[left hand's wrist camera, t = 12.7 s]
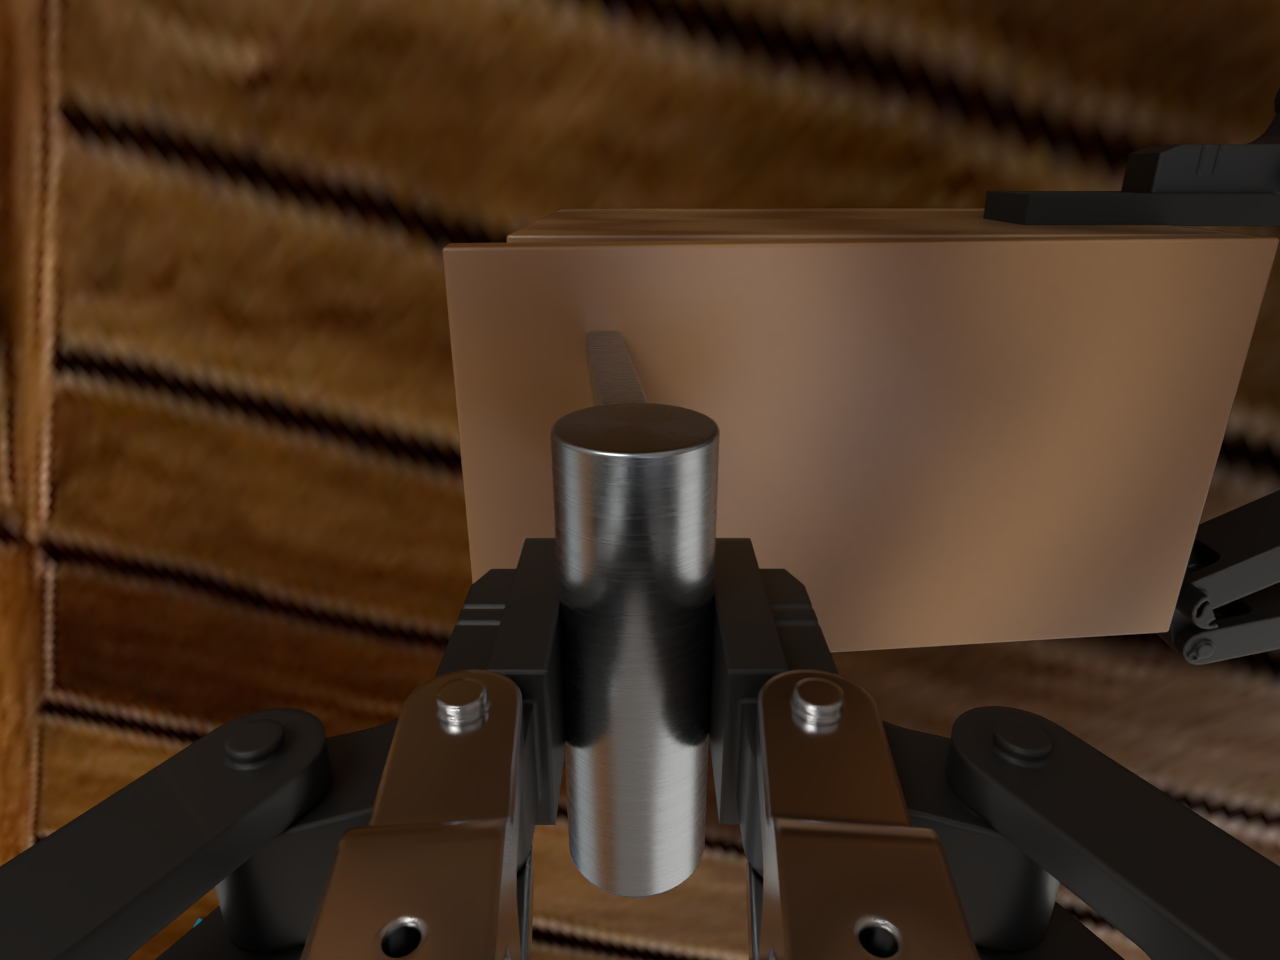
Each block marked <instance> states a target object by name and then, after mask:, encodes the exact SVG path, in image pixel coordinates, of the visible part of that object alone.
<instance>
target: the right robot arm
mask: <svg viewBox="0 0 1280 960" xmlns="http://www.w3.org/2000/svg"><path fill="white" fill-rule="evenodd" d="M1275 111H1276V113H1277V115H1276V117H1275V118H1274V120H1273V122H1272V123H1271V125H1270V126H1269V128H1268V129H1267V130H1266V132H1265V133H1264V134H1262V135H1261V136H1260V137H1259V138H1258V139H1256V140H1254V141H1253V142H1251V143H1248V144H1205V145H1204V144H1182V145H1159V146H1148V147H1145V148H1143V149H1140V150H1138V151H1135V152H1133V153H1130V154H1129V157H1128V161H1127V166H1126V171H1125V176H1124V181H1123V185H1122V190H1121V191H987V196H986V202H985V209H984V216H983V219H989V220H995V221H1002V222H1008V223H1014V224H1021V225H1170V226H1280V89H1279V90H1278V92H1277V95H1276V98H1275ZM1156 634H1158V635H1159V636H1160V637H1161V638H1162V639H1163V640H1164V641H1165V642H1166V643H1167V644H1168V645H1170V646H1171V647H1172V648H1173V649H1174V650H1175V651H1176V652H1177V653H1179V654H1180V655H1181V656H1182V657H1183V658H1184V659H1185V660H1186V661H1187V662H1189V663H1191V664H1194V665H1202V664H1208V663H1212V662H1217V661H1222V660H1227V659H1232V658H1237V657H1242V656H1247V655H1252V654H1256V653H1261V652H1266V651H1271V650H1276V649H1280V490H1279V491H1276V492H1274V493H1272V494H1269V495H1267V496H1265V497H1262V498H1260V499H1258V500H1255V501H1253V502H1251V503H1248V504H1246V505H1244V506H1241V507H1239V508H1237V509H1235V510H1232V511H1230V512H1228V513H1225V514H1223V515H1221V516H1218V517H1216V518H1214V519H1211V520H1209V521H1207V522H1204V523H1202V524H1200V525H1199V526H1198V529H1197V533H1196V536H1195V540H1194V543H1193V547H1192V550H1191V554H1190V557H1189V561H1188V564H1187V568H1186V571H1185V575H1184V578H1183V582H1182V585H1181V589H1180V592H1179V596H1178V599H1177V603H1176V607H1175V610H1174V614H1173V617H1172V621H1171V624H1170V628H1169V631H1168V632H1161V633H1156Z"/></svg>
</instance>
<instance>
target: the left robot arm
mask: <svg viewBox="0 0 1280 960" xmlns="http://www.w3.org/2000/svg"><path fill="white" fill-rule="evenodd" d="M463 606H464V607H463V609H462V610H461V613H460V615H459V618H458V620H457V625H455V628H454V630H453V633H452V635H451V638H450V640H449V643H448V645H447V648H446V651H445V653H444V656H443V658H442V661H441V663H440V666H439V668H438V671H437V673H436V676H435V678H433V679H430V680H429V681H427V682H425V683H423V684H422V685H420V686H419V687H418V688H416V689H415V690H414V691H413V692H412V693H411V694H410V695H409V696H408V698H407V699H406V700H405V702H404V704H403V707H402V709H401V713H400V716H399V718H397V719H394V720H392V721H390V722H388V723H385V724H383V725H380V726H377V727H373V728H370V729H366V730H362V731H357V732H352V733H348V734H343V735H339V736H334V737H329V738H326V735H325V729H324V726H323V724H322V722H321V721H320V720H319V719H318V718H317V717H316V716H314V715H312V714H311V713H309V712H306V711H303V710H298V709H292V708H276V709H267V710H261V711H257V712H253V713H249V714H246V715H244V716H241V717H238V718H236V719H233V720H231V721H229V722H227V723H225V724H223V725H221V726H220V727H218V728H216V729H215V730H213V731H212V732H210V733H208V734H207V735H205V736H204V737H202V738H201V739H199V740H197V741H196V742H194V743H193V744H191V745H190V746H188V747H186V748H185V749H183V750H182V751H180V752H179V753H177V754H176V755H174V756H172V757H171V758H169V759H168V760H166V761H165V762H163V763H161V764H160V765H158V766H157V767H155V768H154V769H152V770H151V771H149V772H147V773H146V774H144V775H143V776H141V777H140V778H138V779H136V780H135V781H133V782H132V783H130V784H129V785H127V786H126V787H124V788H122V789H121V790H119V791H118V792H116V793H115V794H113V795H111V796H110V797H108V798H107V799H105V800H104V801H102V802H101V803H99V804H97V805H96V806H94V807H93V808H91V809H90V810H88V811H86V812H85V813H83V814H82V815H80V816H79V817H77V818H76V819H74V820H72V821H71V822H69V823H68V824H66V825H65V826H63V827H61V828H60V829H58V830H57V831H55V832H54V833H52V834H51V835H49V836H47V837H46V838H44V839H43V840H41V841H40V842H38V843H36V844H35V845H33V846H32V847H30V848H29V849H27V850H26V851H24V852H22V853H21V854H19V855H18V856H16V857H15V858H13V859H11V860H10V861H8V862H7V863H5V864H4V865H2V866H1V867H0V960H127V959H128V958H129V957H130V956H131V955H132V954H133V953H134V952H136V951H137V950H138V949H139V948H140V947H141V946H143V945H144V944H145V943H146V942H148V941H149V940H150V939H151V938H152V937H154V936H155V935H156V934H157V933H159V932H160V931H161V930H162V929H164V928H165V927H166V926H167V925H168V924H170V923H171V922H172V921H173V920H175V919H176V918H177V917H178V916H179V915H181V914H182V913H183V912H184V911H186V910H187V909H188V908H189V907H190V906H192V905H193V904H194V903H195V902H197V901H198V900H199V899H200V898H201V897H203V896H204V895H205V894H206V893H208V892H209V891H210V890H211V889H212V888H214V887H215V891H216V894H217V898H218V902H219V905H220V906H218V907H217V908H216V909H215V910H214V911H213V912H211V913H210V914H209V915H208V916H207V917H205V918H204V919H203V920H202V921H201V922H199V923H198V924H197V925H196V926H195V927H194V928H192V929H191V930H190V931H189V932H188V933H186V934H185V935H184V936H183V937H182V938H180V939H179V940H178V941H177V942H176V943H175V944H173V945H172V946H171V947H170V948H169V949H167V950H166V951H165V952H164V953H163V954H161V955H160V956H159V957H158V958H157V959H156V960H531V944H532V918H533V891H534V867H533V853H532V840H533V833H534V827H535V825H555V824H556V816H557V808H558V800H559V792H560V785H561V777H562V769H563V761H564V753H565V745H566V728H565V706H564V683H563V660H562V637H561V614H560V600H559V598H558V590H557V568H556V546H555V538H526V539H525V542H524V545H523V548H522V552H521V555H520V558H519V562H518V565H517V568H516V569H490V570H489V571H488V572H487V573H486V574H484V575H483V576H482V577H481V578H480V579H478V580H477V581H476V582H475V583H474V584H472V585H471V587H470V590H469V592H468V595H467V597H466V600H465V602H464V605H463ZM709 739H710V748H711V756H712V765H713V773H714V782H715V790H716V799H717V807H718V816H719V824H740V829H741V835H742V842H743V848H744V852H745V855H746V857H747V867H746V892H747V918H748V944H749V960H1124V959H1123V958H1122V957H1121V956H1120V955H1118V954H1117V953H1116V952H1115V951H1114V950H1113V949H1111V948H1110V947H1109V946H1108V945H1107V944H1105V943H1104V942H1103V941H1102V940H1101V939H1100V938H1098V937H1097V936H1096V935H1095V934H1094V933H1092V932H1091V931H1090V930H1089V929H1088V928H1086V927H1085V926H1084V925H1083V924H1082V923H1081V922H1079V921H1078V920H1077V919H1076V918H1075V917H1073V916H1072V915H1071V914H1070V913H1069V912H1067V911H1066V910H1065V909H1064V908H1063V907H1062V906H1060V905H1059V904H1058V903H1057V902H1056V901H1055V899H1056V896H1057V892H1058V888H1059V885H1060V883H1061V884H1063V885H1064V886H1065V887H1066V888H1067V889H1069V890H1070V891H1071V892H1072V893H1074V894H1075V895H1076V896H1077V897H1079V898H1080V899H1081V900H1082V901H1083V902H1085V903H1086V904H1087V905H1088V906H1090V907H1091V908H1092V909H1093V910H1094V911H1096V912H1097V913H1098V914H1099V915H1101V916H1102V917H1103V918H1104V919H1105V920H1107V921H1108V922H1109V923H1110V924H1112V925H1113V926H1114V927H1115V928H1116V929H1118V930H1119V931H1120V932H1121V933H1123V934H1124V935H1125V936H1126V937H1127V938H1129V939H1130V940H1131V941H1132V942H1134V943H1135V944H1136V945H1137V946H1138V947H1140V948H1141V949H1142V950H1143V951H1144V952H1145V953H1146V954H1147V955H1148V956H1149V957H1150V958H1151V960H1280V867H1279V866H1278V865H1276V864H1275V863H1273V862H1272V861H1270V860H1269V859H1267V858H1265V857H1264V856H1262V855H1261V854H1259V853H1258V852H1256V851H1254V850H1253V849H1251V848H1250V847H1248V846H1247V845H1245V844H1244V843H1242V842H1240V841H1239V840H1237V839H1236V838H1234V837H1233V836H1231V835H1229V834H1228V833H1226V832H1225V831H1223V830H1222V829H1220V828H1219V827H1217V826H1215V825H1214V824H1212V823H1211V822H1209V821H1208V820H1206V819H1204V818H1203V817H1201V816H1200V815H1198V814H1197V813H1195V812H1194V811H1192V810H1190V809H1189V808H1187V807H1186V806H1184V805H1183V804H1181V803H1179V802H1178V801H1176V800H1175V799H1173V798H1172V797H1170V796H1168V795H1167V794H1165V793H1164V792H1162V791H1161V790H1159V789H1158V788H1156V787H1154V786H1153V785H1151V784H1150V783H1148V782H1147V781H1145V780H1143V779H1142V778H1140V777H1139V776H1137V775H1136V774H1134V773H1133V772H1131V771H1129V770H1128V769H1126V768H1125V767H1123V766H1122V765H1120V764H1118V763H1117V762H1115V761H1114V760H1112V759H1111V758H1109V757H1108V756H1106V755H1104V754H1103V753H1101V752H1100V751H1098V750H1097V749H1095V748H1093V747H1092V746H1090V745H1089V744H1087V743H1086V742H1084V741H1083V740H1081V739H1079V738H1078V737H1076V736H1075V735H1073V734H1072V733H1070V732H1068V731H1067V730H1065V729H1064V728H1062V727H1061V726H1059V725H1057V724H1055V723H1054V722H1052V721H1050V720H1048V719H1046V718H1043V717H1041V716H1039V715H1036V714H1033V713H1030V712H1027V711H1023V710H1020V709H1015V708H1009V707H999V706H988V707H980V708H975V709H972V710H969V711H967V712H965V713H963V714H962V715H960V716H959V717H958V718H957V719H956V721H955V723H954V725H953V729H952V734H951V738H946V737H942V736H937V735H932V734H928V733H923V732H919V731H914V730H910V729H906V728H902V727H898V726H895V725H893V724H890V723H887V722H885V721H883V720H882V719H881V716H880V713H879V709H878V707H877V704H876V702H875V700H874V699H873V698H872V696H871V695H870V694H869V693H868V692H867V691H866V690H865V689H864V688H862V687H861V686H860V685H858V684H857V683H855V682H853V681H851V680H850V679H847V678H845V677H843V676H840V675H839V674H838V671H837V668H836V666H835V663H834V661H833V658H832V655H831V653H830V650H829V648H828V645H827V642H826V640H825V637H824V635H823V632H822V629H821V627H820V625H818V619H817V616H816V614H815V611H814V609H812V603H811V601H810V598H809V596H808V593H807V590H806V588H805V585H804V584H802V583H801V582H800V581H799V580H798V579H796V578H795V577H794V576H793V575H792V574H790V573H789V572H788V571H787V570H786V569H759V566H758V562H757V559H756V556H755V552H754V549H753V545H752V542H751V539H750V538H716V546H715V573H714V600H713V627H712V654H711V681H710V708H709Z"/></svg>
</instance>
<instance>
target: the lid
mask: <svg viewBox="0 0 1280 960" xmlns="http://www.w3.org/2000/svg"><path fill="white" fill-rule="evenodd" d="M1278 245H1279V239H1278V238H1276V237H1267V236H1257V235H1164V236H1072V237H981V238H890V239H799V240H708V241H617V242H526V243H450V244H448V245H447V246H445V247H444V248H443V251H442V252H443V263H444V274H445V285H446V296H447V307H448V318H449V329H450V340H451V351H452V363H453V374H454V385H455V396H456V407H457V418H458V429H459V440H460V451H461V462H462V473H463V484H464V495H465V506H466V517H467V528H468V539H469V550H470V561H471V572H472V583H473V584H474V583H475V582H476V581H477V580H478V579H480V578H481V577H482V576H483V575H484V574H486V573H487V572H488V571H489V570H490V569H516V568H517V565H518V562H519V558H520V555H521V552H522V548H523V545H524V542H525V539H526V538H555V546H556V568H557V590H558V598H559V600H560V614H561V637H562V660H563V683H564V706H565V728H566V745H565V764H566V785H567V807H568V829H569V847H570V853H571V856H572V859H573V861H574V863H575V865H576V867H577V868H578V870H579V871H580V873H581V874H582V875H583V876H584V877H585V878H586V879H587V880H588V881H590V882H591V883H592V884H594V885H595V886H597V887H598V888H600V889H602V890H604V891H607V892H609V893H612V894H616V895H620V896H626V897H647V896H653V895H657V894H661V893H664V892H666V891H669V890H671V889H673V888H675V887H677V886H678V885H680V884H681V883H682V882H684V881H685V880H686V879H687V878H688V877H689V876H690V875H691V874H692V873H693V872H694V870H695V869H696V868H697V866H698V864H699V862H700V861H701V858H702V855H703V851H704V843H705V816H706V789H707V762H708V735H709V708H710V681H711V654H712V627H713V600H714V573H715V546H716V538H750V539H751V542H752V545H753V549H754V552H755V556H756V559H757V562H758V566H759V569H786V570H787V571H788V572H789V573H790V574H792V575H793V576H794V577H795V578H796V579H798V580H799V581H800V582H801V583H802V584H804V585H805V588H806V590H807V593H808V596H809V598H810V601H811V603H812V609H814V611H815V614H816V616H817V619H818V625H820V627H821V629H822V632H823V635H824V637H825V640H826V642H827V645H828V648H829V650H830V653H833V652H849V651H866V650H882V649H899V648H915V647H931V646H948V645H964V644H981V643H997V642H1013V641H1030V640H1046V639H1063V638H1079V637H1096V636H1112V635H1128V634H1145V633H1161V632H1168V631H1169V628H1170V624H1171V621H1172V617H1173V614H1174V610H1175V607H1176V603H1177V599H1178V596H1179V592H1180V589H1181V585H1182V582H1183V578H1184V575H1185V571H1186V568H1187V564H1188V561H1189V557H1190V554H1191V550H1192V547H1193V543H1194V540H1195V536H1196V533H1197V529H1198V526H1199V522H1200V519H1201V515H1202V512H1203V508H1204V505H1205V501H1206V498H1207V494H1208V491H1209V487H1210V484H1211V480H1212V477H1213V473H1214V470H1215V466H1216V463H1217V459H1218V456H1219V452H1220V449H1221V445H1222V442H1223V438H1224V434H1225V431H1226V427H1227V424H1228V420H1229V417H1230V413H1231V410H1232V406H1233V403H1234V399H1235V396H1236V392H1237V389H1238V385H1239V382H1240V378H1241V375H1242V371H1243V368H1244V364H1245V361H1246V357H1247V354H1248V350H1249V347H1250V343H1251V340H1252V336H1253V333H1254V329H1255V326H1256V322H1257V319H1258V315H1259V312H1260V308H1261V305H1262V301H1263V298H1264V294H1265V291H1266V287H1267V284H1268V280H1269V277H1270V273H1271V269H1272V266H1273V262H1274V259H1275V255H1276V252H1277V248H1278Z"/></svg>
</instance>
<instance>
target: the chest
mask: <svg viewBox="0 0 1280 960" xmlns="http://www.w3.org/2000/svg"><path fill="white" fill-rule="evenodd" d="M984 209H985V208H795V209H558V210H556V212H555V213H553V214H551V215H549V216H547V217H545V218H543V219H541V220H539V221H536V222H534V223H532V224H530V225H528V226H526V227H524V228H522V229H520V230H518V231H516V232H514V233H512V234H510V235H508V236H507V243H526V242H617V241H708V240H799V239H890V238H981V237H1072V236H1164V235H1244V234H1240V233H1231V232H1222V231H1214V230H1205V229H1196V228H1188V227H1179V226H1170V225H1021V224H1014V223H1008V222H1002V221H995V220H989V219H983V216H984Z"/></svg>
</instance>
